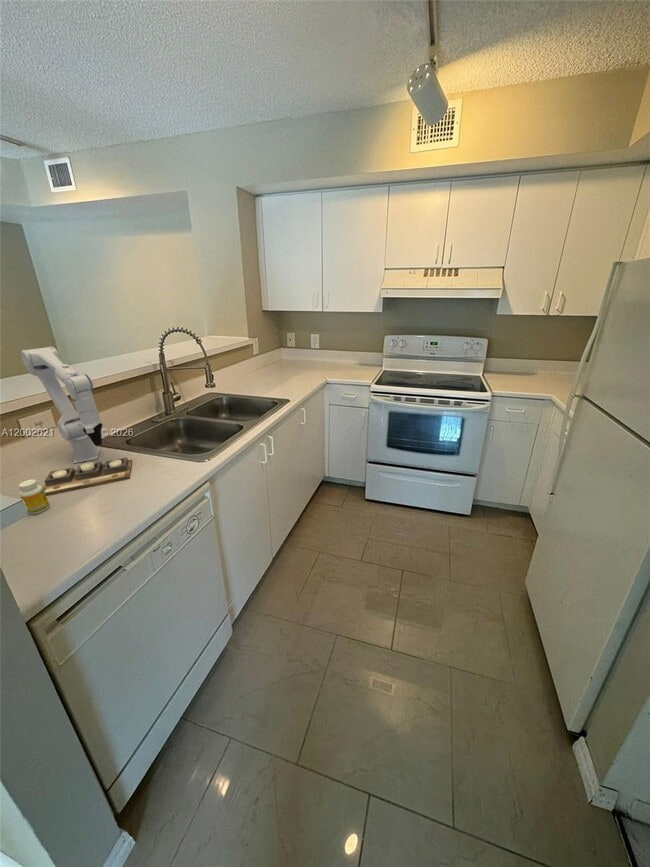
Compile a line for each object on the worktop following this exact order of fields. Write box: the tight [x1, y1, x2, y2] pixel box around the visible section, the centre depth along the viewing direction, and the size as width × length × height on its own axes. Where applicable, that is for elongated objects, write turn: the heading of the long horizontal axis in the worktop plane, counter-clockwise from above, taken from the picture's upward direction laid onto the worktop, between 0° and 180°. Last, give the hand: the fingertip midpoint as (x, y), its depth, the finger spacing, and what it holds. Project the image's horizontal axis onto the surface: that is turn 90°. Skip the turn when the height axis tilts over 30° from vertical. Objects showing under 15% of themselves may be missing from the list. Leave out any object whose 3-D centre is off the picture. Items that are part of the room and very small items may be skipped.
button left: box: [52, 469, 67, 478], centre depth 116 cm, size 4×4×2 cm
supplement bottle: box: [18, 479, 50, 515], centre depth 100 cm, size 5×5×10 cm
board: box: [42, 457, 133, 497], centre depth 118 cm, size 14×26×3 cm, turn 114°
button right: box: [109, 459, 122, 467], centre depth 122 cm, size 4×4×2 cm
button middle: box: [80, 461, 95, 473], centre depth 118 cm, size 4×4×2 cm
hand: (98, 444), depth 122 cm, fingers closed
